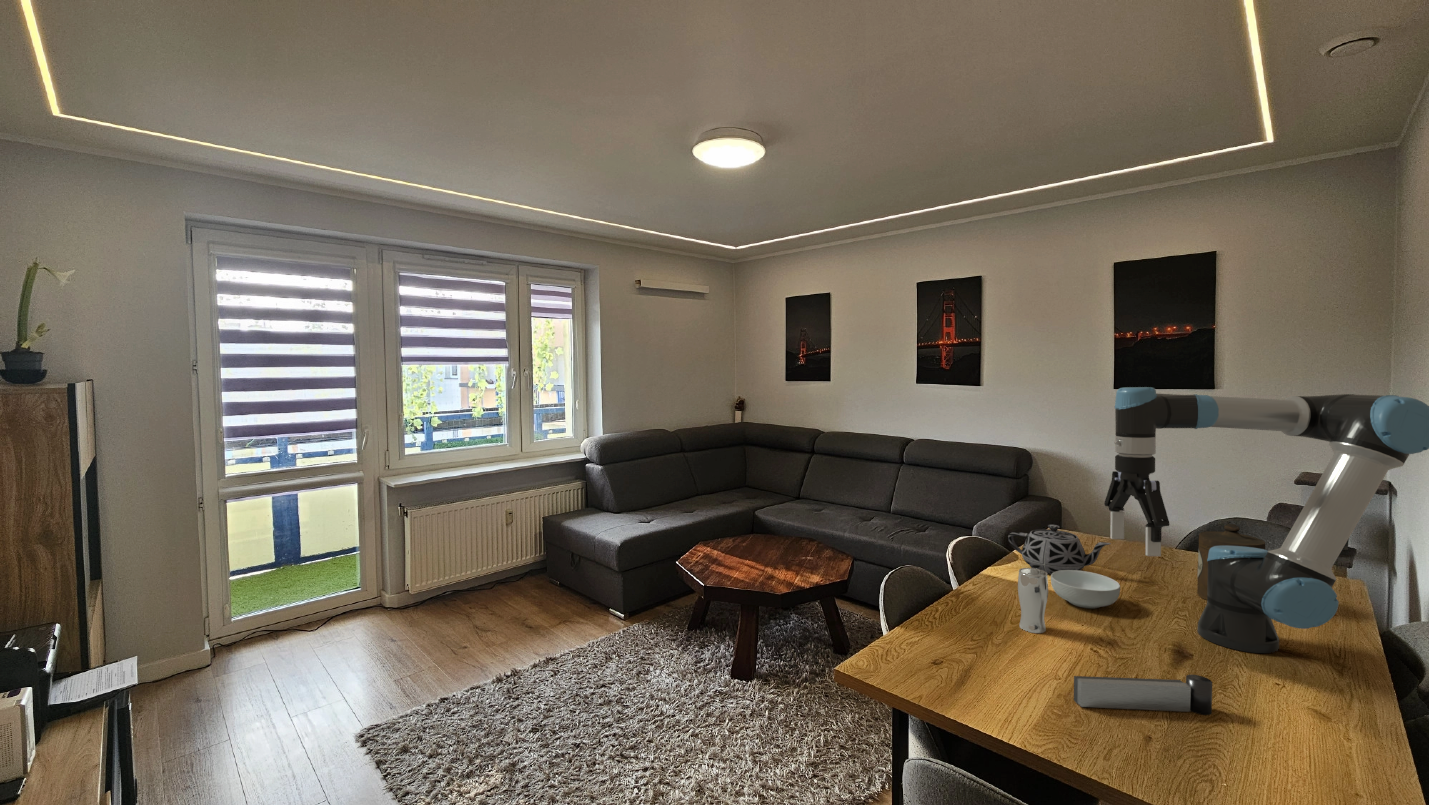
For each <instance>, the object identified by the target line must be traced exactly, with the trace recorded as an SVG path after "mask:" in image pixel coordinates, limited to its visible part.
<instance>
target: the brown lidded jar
mask: <svg viewBox="0 0 1429 805" xmlns="http://www.w3.org/2000/svg"><path fill="white" fill-rule="evenodd" d="M1223 526H1224V527H1223V529H1224V531H1218V530H1217V531H1215V530H1214V531H1213V530H1212V531H1210V530H1209V531H1207V530H1206V531H1202V532H1199V534H1198V556H1197V584H1196V585H1197V595H1198V596H1199V597H1200V598H1201V599H1203V600H1205V601H1207V586H1208V562H1207V559H1208V554H1209V550H1210V548H1212V547H1214V546H1243V547H1252V548H1259V549H1264V550H1266V542H1265V540H1263V539H1261V538H1258V537H1255V536H1252V535H1251V536H1250V535H1247V534H1242V533H1239V531H1240V527H1239V526H1238V525H1236V524H1233V523H1228V524H1225V525H1223Z"/></svg>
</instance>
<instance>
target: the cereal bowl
mask: <svg viewBox="0 0 1429 805" xmlns="http://www.w3.org/2000/svg"><path fill="white" fill-rule="evenodd" d="M1050 583H1051V584H1050V585H1051V587H1052V590H1053V591H1054V592H1055V594H1056V595H1057V596H1058V597H1060V598H1061V599H1063V600H1066V601H1067V602H1069V603H1070V604H1071V605H1074V606H1075V607H1078V608H1084V609H1098V608H1100V607H1107V606H1111V605H1113V604H1114V603H1115V602H1116V601H1118V598H1120V594H1121V585H1120V583H1119V582H1118V581H1116V579H1113V578H1111V577H1109V576H1106V575H1102V574H1100V573H1096V572H1091V571H1085V570H1080V571H1078V570H1061V571H1056V572H1053V573H1052V574H1050Z"/></svg>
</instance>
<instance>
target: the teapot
mask: <svg viewBox="0 0 1429 805" xmlns="http://www.w3.org/2000/svg"><path fill="white" fill-rule="evenodd" d="M1047 527H1048V528H1046V529H1045V528H1039V529H1033V530H1031V531H1030V532H1029V533H1027V532H1017V531H1014V532H1011V533H1009V534H1008V536H1007V537H1008V538H1007V539H1008V543H1009V544H1010V546H1011V547H1012V548H1013V549H1014V550H1015V551H1016V552H1018V553H1019V554H1020V555H1021V556H1022V559H1023V560H1024V562H1026V564H1028V565H1029V568H1035V569H1040V570H1043V571H1045V572H1046V573H1047V574H1050V575H1051V574H1052V573H1053V572H1056V571H1061V570H1078V571H1082V570H1083V569H1084V568H1085V567H1088V566H1092V565H1093V564H1094V563H1095V562H1096V561H1097V560H1098V558H1099V555H1100V552H1101V551H1102V549H1103V548H1104V547H1105V546H1108V545H1111V544H1112V543H1110V542H1105V541H1100V542H1097V543H1095V545H1094V547H1093V550H1092V551H1091V552H1090V553H1086V551H1085V548H1084V546H1083V545H1082V544H1083V543H1082V542H1081V540H1080V538H1079V537H1078V536H1077V535H1076V534H1075V533H1072V532H1068V531H1065V530H1059V529H1060V528H1061V527H1060V525H1057V524H1048V525H1047ZM1015 536H1016V537H1017V536H1018V537H1025V538H1026V539H1025V541H1024V543H1023V545H1022V548H1020V547H1019V546H1018V545H1017V544H1016V542H1015V540H1014V537H1015Z"/></svg>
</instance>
